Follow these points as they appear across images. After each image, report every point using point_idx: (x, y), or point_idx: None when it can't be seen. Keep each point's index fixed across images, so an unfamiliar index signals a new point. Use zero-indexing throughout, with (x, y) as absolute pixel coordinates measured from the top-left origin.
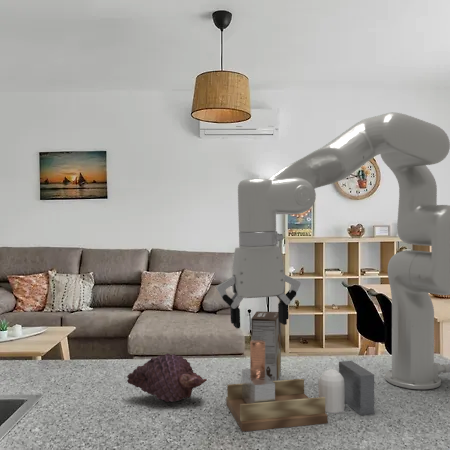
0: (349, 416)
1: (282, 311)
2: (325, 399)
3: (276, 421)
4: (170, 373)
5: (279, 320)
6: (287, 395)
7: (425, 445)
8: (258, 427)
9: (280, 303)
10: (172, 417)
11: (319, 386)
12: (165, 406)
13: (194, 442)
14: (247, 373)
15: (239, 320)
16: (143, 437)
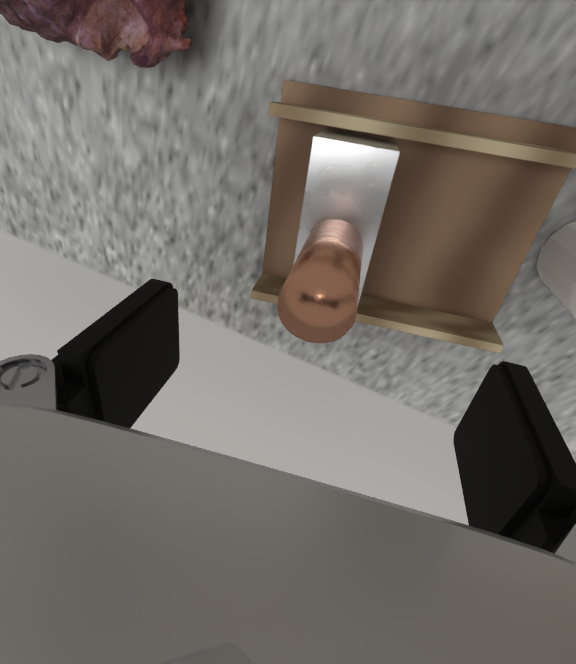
0: (568, 324)
1: (471, 505)
2: (552, 288)
3: None
4: (19, 14)
5: (488, 383)
6: (497, 159)
7: None
8: None
9: (531, 517)
10: (115, 129)
11: (573, 273)
12: None
13: None
14: (310, 202)
15: (152, 393)
16: (57, 221)
